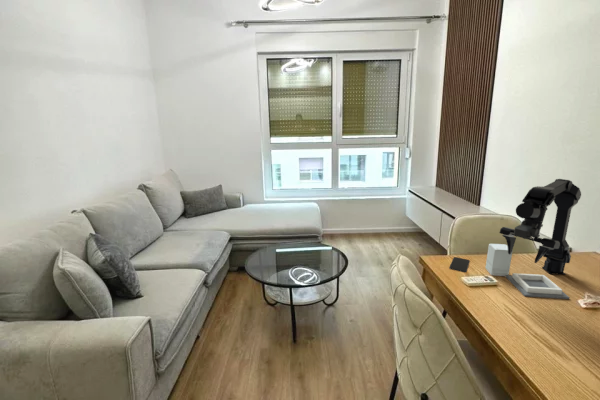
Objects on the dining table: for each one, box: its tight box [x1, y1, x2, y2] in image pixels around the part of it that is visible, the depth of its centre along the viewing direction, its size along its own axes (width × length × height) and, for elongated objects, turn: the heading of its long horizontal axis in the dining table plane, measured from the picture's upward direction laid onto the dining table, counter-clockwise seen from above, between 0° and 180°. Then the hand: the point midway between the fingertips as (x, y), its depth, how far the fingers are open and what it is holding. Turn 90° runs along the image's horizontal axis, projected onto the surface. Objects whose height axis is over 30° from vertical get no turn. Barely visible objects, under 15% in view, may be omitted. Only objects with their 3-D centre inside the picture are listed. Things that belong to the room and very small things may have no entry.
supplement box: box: [485, 243, 514, 277], centre depth 143 cm, size 7×7×13 cm
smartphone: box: [448, 256, 471, 273], centre depth 153 cm, size 7×1×15 cm
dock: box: [504, 272, 570, 300], centre depth 132 cm, size 16×16×3 cm
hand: (522, 258), depth 124 cm, fingers open, 9 cm apart
